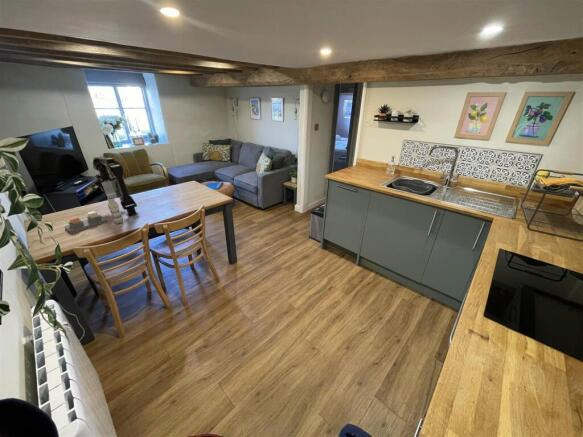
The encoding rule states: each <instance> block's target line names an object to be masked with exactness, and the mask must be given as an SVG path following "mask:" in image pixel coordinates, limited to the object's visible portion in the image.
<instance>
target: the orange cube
mask: <svg viewBox="0 0 583 437" xmlns="http://www.w3.org/2000/svg"><path fill="white" fill-rule="evenodd" d="M68 220H69V222H71V223H72V224H75V223H78V222H80V220H81V219H80V217H79V216H77V215H75V216H71V217H69V218H68Z"/></svg>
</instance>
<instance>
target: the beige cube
mask: <svg viewBox="0 0 583 437" xmlns="http://www.w3.org/2000/svg"><path fill="white" fill-rule="evenodd" d="M98 215H99V214H98V212H97V211H95V210H92V211H89V212H87V217H88V216H89V217H90V218H94V217H98Z"/></svg>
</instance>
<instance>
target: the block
mask: <svg viewBox="0 0 583 437" xmlns="http://www.w3.org/2000/svg"><path fill="white" fill-rule="evenodd" d="M86 218H87V219H83V220H82V219H80V222H78V223H75V224H72V223H71V222H70V221H69V222H68V225H67V224H66V225H65V226H64V229H65V230H67V231H68V232H69V233H70V234H75V233H78V232H81V231H83V230H87V229H90V228H93V227H96V226H98V225H99V226H100V225H102V224H104V223H108V222H109V221H108V219H107V218H105V216H104V217H103V216H102V215H100V214H98V217H94V218H90V217H89V216H88V215H87V216H86Z"/></svg>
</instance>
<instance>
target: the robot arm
mask: <svg viewBox="0 0 583 437" xmlns="http://www.w3.org/2000/svg"><path fill="white" fill-rule="evenodd" d="M112 164H113V165H112ZM92 165H93V166H92V167H93V169H94V170H95V171H98V173H99V174H95V178H96V180H92V181H91V182H92V185H94V186H95V187H99V188H100V190H101V191H102V192H104V193H105V191H106V190H105V188H104V186H103V184H102V183H107V182H111V181H112V182H113V184H114V188H115V189H116V190H117V189H118V191H119V192H120V195H121V196H119V200H120V206H121V207H122V209H123V210H124V211H125V210H126V212H127V213H126V216H128V217H133V216H136V215H138V214H139V213H138V212H137V211H136V208H137V207H138V204H137V203H136V201H135V200H134V199H133V197H132V196H131V195H130V194H129V192H128V188H127V186H126V183H125V180H124V177H123V176H124V174H125V172H124V167H123V165H122V164H121V163H120V162H118V161H117V160H115V159H114V158H113V157H106V156H103V155H102V156H94V157H93V159H92ZM109 165H110V166H109ZM111 176H112V177H111Z"/></svg>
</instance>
